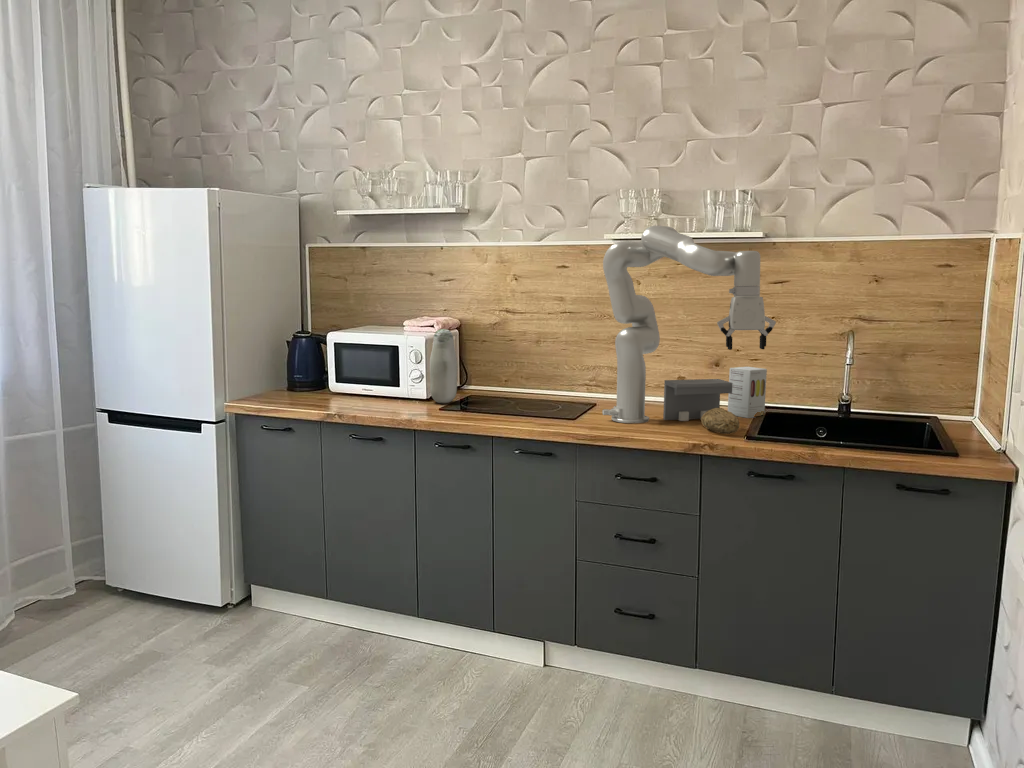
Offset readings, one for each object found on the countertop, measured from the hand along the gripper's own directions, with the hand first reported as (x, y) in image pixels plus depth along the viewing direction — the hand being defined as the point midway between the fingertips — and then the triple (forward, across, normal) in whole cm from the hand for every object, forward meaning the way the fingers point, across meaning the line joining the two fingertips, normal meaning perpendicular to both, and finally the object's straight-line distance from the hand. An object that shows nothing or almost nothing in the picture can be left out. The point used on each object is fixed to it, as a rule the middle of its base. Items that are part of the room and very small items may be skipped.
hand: (745, 349), depth 254 cm
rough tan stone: (+27, -5, +10) cm, 30 cm away
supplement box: (+27, +10, +39) cm, 49 cm away
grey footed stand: (+26, -10, +28) cm, 40 cm away
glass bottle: (+24, -99, +57) cm, 117 cm away
